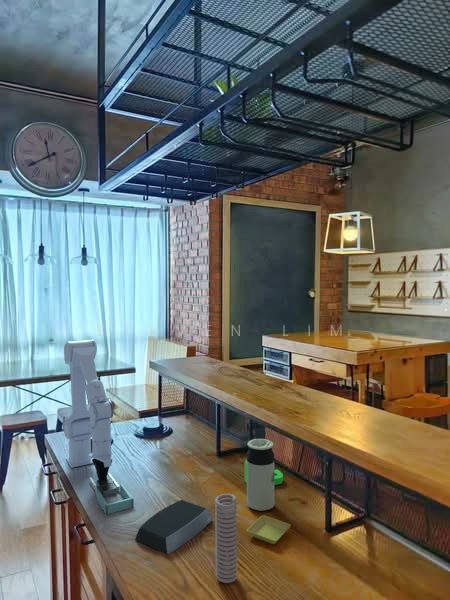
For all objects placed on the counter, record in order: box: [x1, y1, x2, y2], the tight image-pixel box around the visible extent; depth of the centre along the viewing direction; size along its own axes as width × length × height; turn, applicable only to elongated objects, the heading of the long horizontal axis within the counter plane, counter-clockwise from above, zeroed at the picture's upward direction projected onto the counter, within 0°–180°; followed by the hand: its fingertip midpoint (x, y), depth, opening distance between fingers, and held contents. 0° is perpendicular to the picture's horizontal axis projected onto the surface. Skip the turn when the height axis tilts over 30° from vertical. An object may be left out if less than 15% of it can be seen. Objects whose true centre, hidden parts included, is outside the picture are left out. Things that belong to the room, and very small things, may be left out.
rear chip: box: [96, 477, 113, 490], centre depth 136 cm, size 4×4×2 cm
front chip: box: [100, 483, 118, 498], centre depth 133 cm, size 4×4×2 cm
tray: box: [95, 483, 135, 515], centre depth 127 cm, size 11×8×2 cm
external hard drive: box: [134, 499, 213, 555], centre depth 113 cm, size 12×18×4 cm
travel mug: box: [246, 438, 275, 512], centre depth 125 cm, size 8×8×18 cm
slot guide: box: [88, 472, 120, 493], centre depth 137 cm, size 11×7×2 cm, turn 30°
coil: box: [214, 493, 238, 584], centre depth 94 cm, size 5×5×18 cm
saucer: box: [246, 514, 292, 545], centre depth 111 cm, size 9×9×2 cm
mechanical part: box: [243, 458, 284, 486], centre depth 140 cm, size 12×6×8 cm, turn 108°
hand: (102, 480), depth 139 cm, fingers closed
